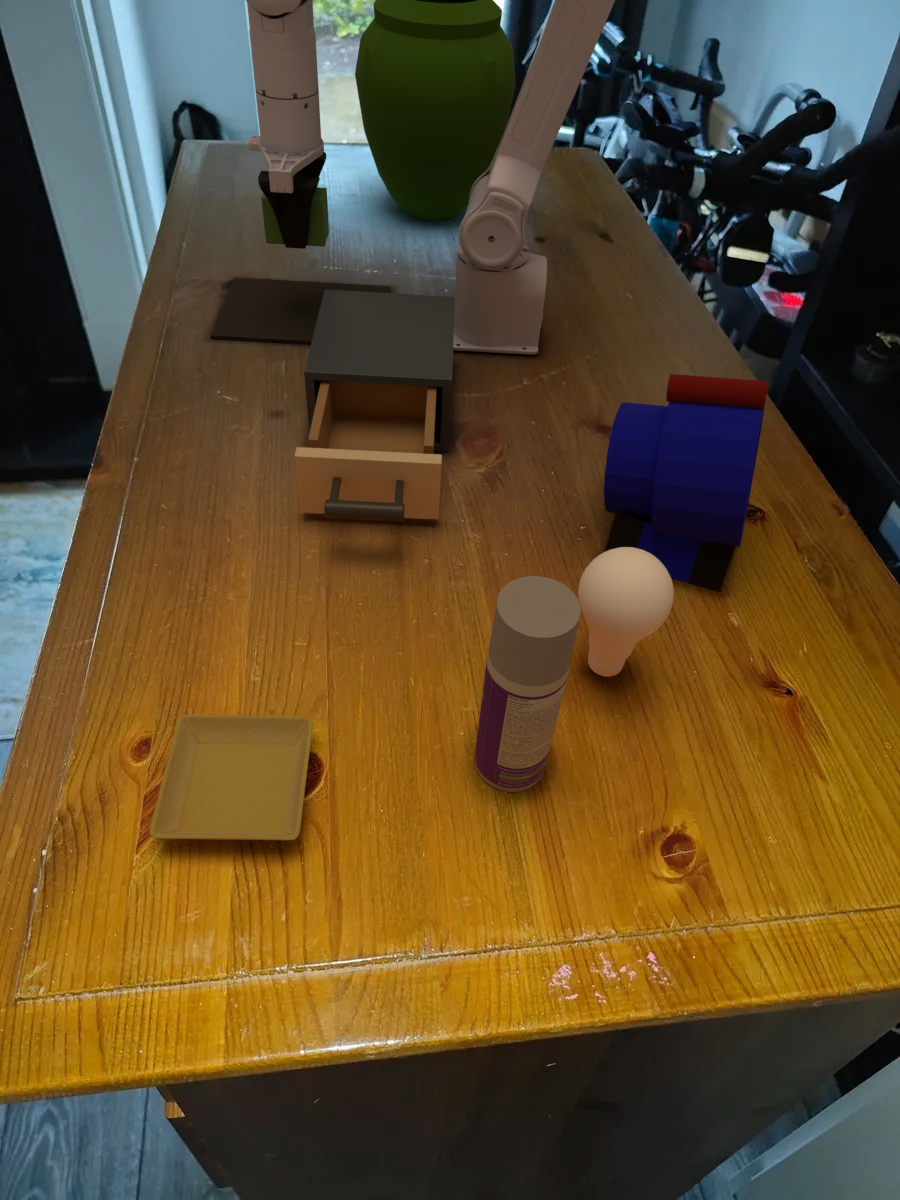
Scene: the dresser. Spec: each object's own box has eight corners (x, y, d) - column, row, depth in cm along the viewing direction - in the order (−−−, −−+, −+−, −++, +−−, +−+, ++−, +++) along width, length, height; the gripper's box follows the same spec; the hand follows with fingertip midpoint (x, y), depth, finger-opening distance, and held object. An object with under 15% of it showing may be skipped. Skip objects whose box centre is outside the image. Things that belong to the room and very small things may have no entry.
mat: (390, 289, 98) (390, 286, 98) (382, 348, 89) (382, 344, 89) (234, 280, 97) (234, 277, 97) (210, 338, 89) (210, 335, 88)
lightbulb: (591, 716, 58) (624, 608, 50) (544, 653, 61) (567, 543, 53) (662, 685, 60) (704, 577, 52) (613, 627, 64) (645, 517, 56)
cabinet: (447, 451, 77) (452, 379, 72) (310, 444, 77) (303, 371, 71) (450, 365, 87) (454, 296, 82) (328, 359, 87) (324, 289, 81)
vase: (374, 174, 121) (371, -35, 103) (509, 188, 120) (530, -20, 102) (344, 231, 108) (334, 3, 90) (495, 248, 106) (516, 20, 89)
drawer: (437, 555, 67) (440, 498, 62) (292, 548, 66) (285, 491, 62) (442, 423, 79) (445, 369, 75) (320, 417, 78) (316, 361, 74)
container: (470, 732, 56) (489, 574, 46) (539, 729, 57) (574, 572, 46) (477, 794, 53) (500, 641, 42) (550, 790, 54) (591, 638, 43)
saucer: (153, 853, 50) (145, 837, 48) (184, 730, 55) (178, 712, 54) (301, 856, 50) (298, 840, 48) (316, 734, 56) (314, 715, 54)
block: (329, 232, 88) (326, 187, 85) (325, 247, 86) (322, 201, 82) (271, 228, 88) (266, 183, 85) (266, 243, 86) (261, 197, 82)
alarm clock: (727, 594, 67) (794, 438, 56) (577, 551, 69) (612, 394, 58) (745, 501, 75) (807, 349, 64) (610, 466, 77) (647, 314, 66)
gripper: (256, 63, 82) (271, 206, 92) (227, 113, 72) (247, 267, 82) (329, 67, 82) (336, 210, 92) (310, 118, 72) (319, 272, 82)
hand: (298, 237), depth 87 cm, fingers closed on block, 3 cm apart
